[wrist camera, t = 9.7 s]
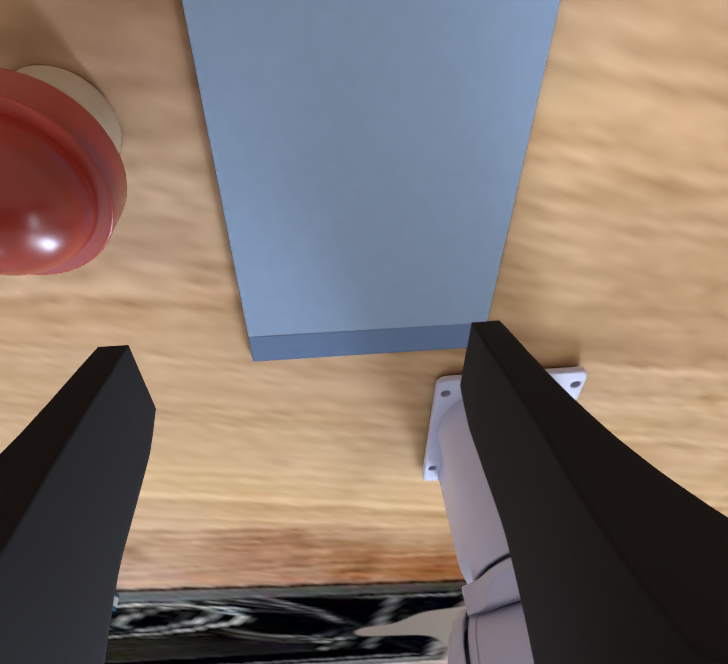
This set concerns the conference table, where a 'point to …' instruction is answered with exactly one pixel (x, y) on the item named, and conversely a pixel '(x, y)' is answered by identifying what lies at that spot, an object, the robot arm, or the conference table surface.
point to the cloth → (367, 161)
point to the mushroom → (56, 171)
